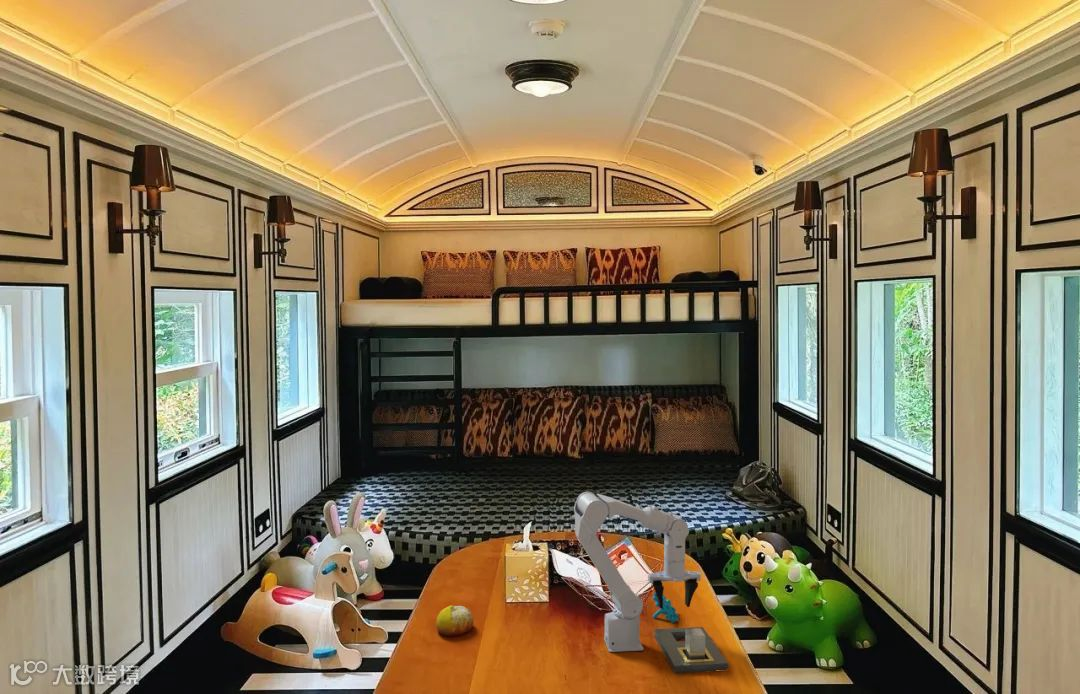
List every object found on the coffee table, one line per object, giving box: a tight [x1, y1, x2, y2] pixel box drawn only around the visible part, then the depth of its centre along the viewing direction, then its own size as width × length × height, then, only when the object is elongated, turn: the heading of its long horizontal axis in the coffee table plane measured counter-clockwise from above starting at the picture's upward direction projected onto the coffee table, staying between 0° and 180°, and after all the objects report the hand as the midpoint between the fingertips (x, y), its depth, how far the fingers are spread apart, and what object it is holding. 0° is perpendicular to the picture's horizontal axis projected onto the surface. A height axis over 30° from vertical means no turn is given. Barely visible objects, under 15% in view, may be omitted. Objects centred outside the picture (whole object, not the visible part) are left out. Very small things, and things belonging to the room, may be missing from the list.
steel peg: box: [684, 628, 705, 660], centre depth 183 cm, size 4×4×8 cm
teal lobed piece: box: [652, 592, 679, 623], centre depth 209 cm, size 11×6×10 cm
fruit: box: [435, 604, 474, 637], centre depth 202 cm, size 11×10×8 cm
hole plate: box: [653, 626, 729, 675], centre depth 188 cm, size 14×20×2 cm
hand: (674, 606), depth 195 cm, fingers open, 7 cm apart
